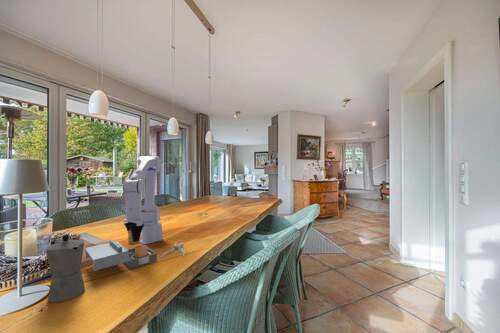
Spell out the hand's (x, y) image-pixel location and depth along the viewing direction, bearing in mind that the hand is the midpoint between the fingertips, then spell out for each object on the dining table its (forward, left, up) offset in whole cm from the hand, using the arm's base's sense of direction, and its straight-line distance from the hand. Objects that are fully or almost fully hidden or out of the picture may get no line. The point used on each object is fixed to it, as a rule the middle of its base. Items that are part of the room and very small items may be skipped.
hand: (134, 239), depth 95 cm
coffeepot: (+24, +14, -7) cm, 29 cm away
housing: (0, +4, -7) cm, 8 cm away
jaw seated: (0, +8, -7) cm, 10 cm away
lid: (+11, +4, -4) cm, 12 cm away
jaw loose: (0, 0, -1) cm, 1 cm away
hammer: (-15, +7, -8) cm, 18 cm away
